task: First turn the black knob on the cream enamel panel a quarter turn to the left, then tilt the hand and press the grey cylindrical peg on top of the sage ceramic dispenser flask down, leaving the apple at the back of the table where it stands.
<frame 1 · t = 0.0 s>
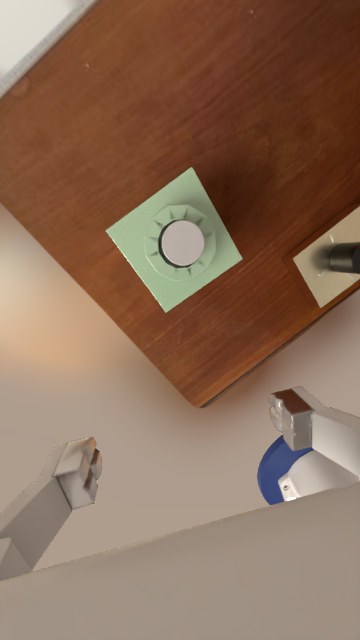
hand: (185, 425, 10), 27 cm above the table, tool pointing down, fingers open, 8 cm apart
panel: (327, 257, 37), on the table
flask: (168, 248, 33), on the table
knob: (354, 257, 32), point 5 cm above the table, hinge at 0.0°
grey cylindrical peg: (181, 244, 19), point 15 cm above the table, slide at 0.1 cm
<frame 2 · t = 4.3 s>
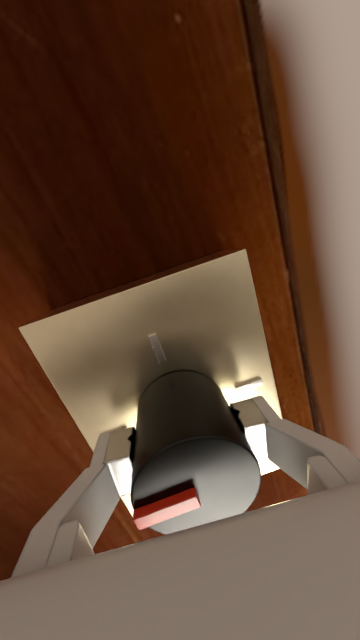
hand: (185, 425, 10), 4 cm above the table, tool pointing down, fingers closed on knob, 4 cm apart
panel: (175, 377, 14), on the table
knob: (189, 444, 9), point 5 cm above the table, hinge at 0.0°, touching gripper
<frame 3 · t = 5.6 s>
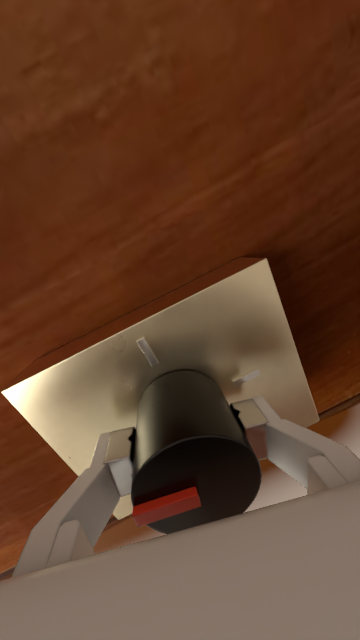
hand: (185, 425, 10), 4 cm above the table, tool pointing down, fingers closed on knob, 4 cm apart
panel: (175, 376, 14), on the table
knob: (189, 444, 9), point 5 cm above the table, hinge at 79.0°, touching gripper
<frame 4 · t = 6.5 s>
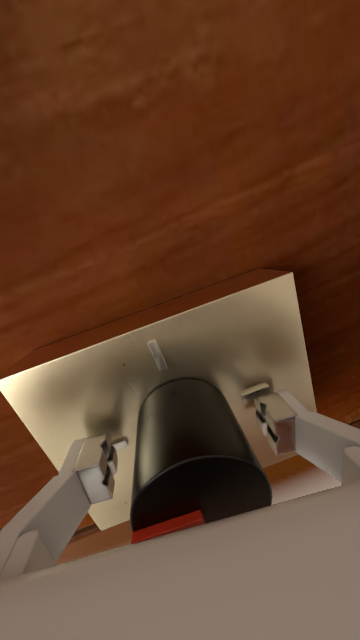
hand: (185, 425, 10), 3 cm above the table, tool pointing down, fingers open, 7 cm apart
panel: (177, 383, 13), on the table
knob: (192, 459, 8), point 5 cm above the table, hinge at 85.9°
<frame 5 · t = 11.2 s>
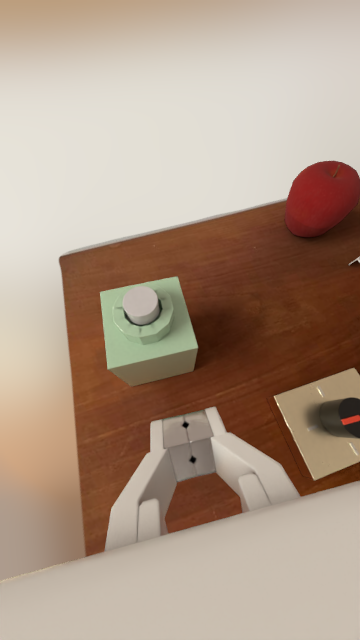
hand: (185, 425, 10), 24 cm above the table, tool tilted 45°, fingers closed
panel: (323, 419, 31), on the table
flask: (156, 349, 36), on the table
knob: (347, 417, 27), point 5 cm above the table, hinge at 85.9°
grey cylindrical peg: (141, 305, 23), point 15 cm above the table, slide at 0.1 cm
apple: (300, 230, 48), on the table
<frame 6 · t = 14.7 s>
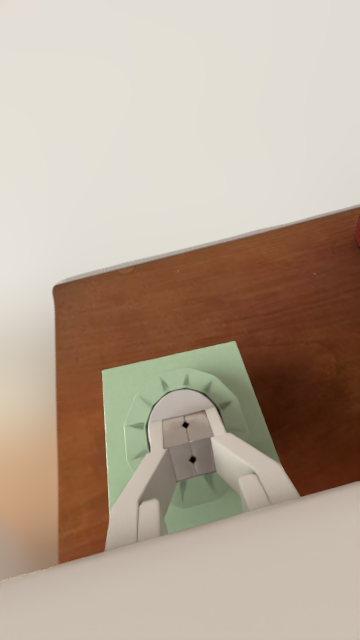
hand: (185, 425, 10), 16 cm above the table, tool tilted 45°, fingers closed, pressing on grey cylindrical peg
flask: (186, 432, 24), on the table
grey cylindrical peg: (185, 428, 11), point 14 cm above the table, slide at -0.3 cm, touching gripper
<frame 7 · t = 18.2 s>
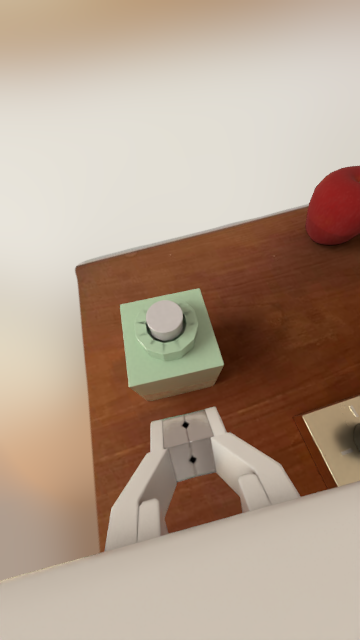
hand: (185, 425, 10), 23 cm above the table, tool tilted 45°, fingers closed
panel: (355, 441, 29), on the table
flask: (174, 361, 35), on the table
grey cylindrical peg: (165, 320, 22), point 15 cm above the table, slide at 0.1 cm
apple: (322, 238, 46), on the table
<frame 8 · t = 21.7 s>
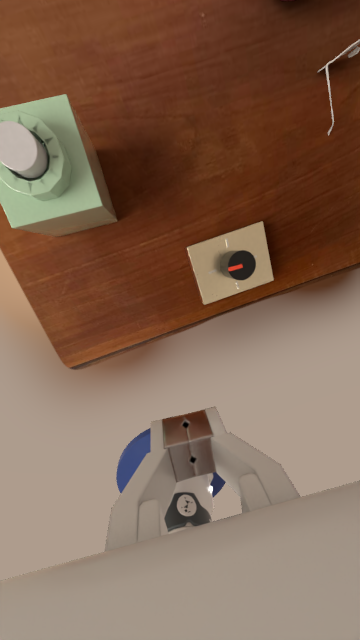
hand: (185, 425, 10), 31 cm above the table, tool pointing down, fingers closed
sunglasses: (353, 83, 34), on the table
panel: (226, 263, 39), on the table
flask: (75, 195, 33), on the table
knob: (237, 265, 34), point 5 cm above the table, hinge at 85.9°
grey cylindrical peg: (21, 151, 20), point 15 cm above the table, slide at 0.1 cm
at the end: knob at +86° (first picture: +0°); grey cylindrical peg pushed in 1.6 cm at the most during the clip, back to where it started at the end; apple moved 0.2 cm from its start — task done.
